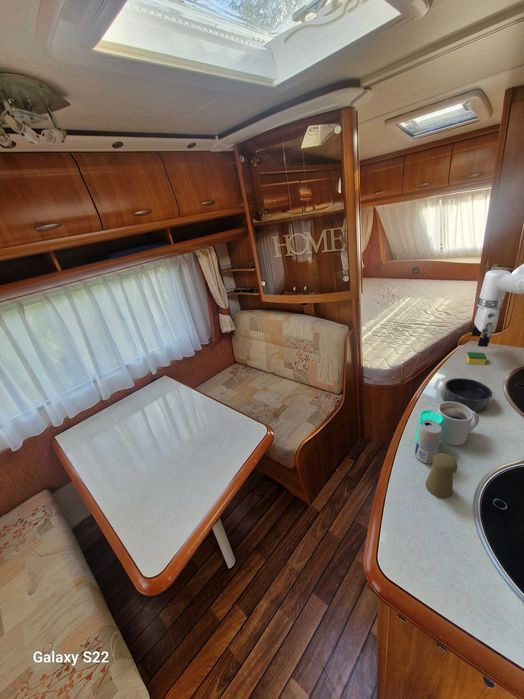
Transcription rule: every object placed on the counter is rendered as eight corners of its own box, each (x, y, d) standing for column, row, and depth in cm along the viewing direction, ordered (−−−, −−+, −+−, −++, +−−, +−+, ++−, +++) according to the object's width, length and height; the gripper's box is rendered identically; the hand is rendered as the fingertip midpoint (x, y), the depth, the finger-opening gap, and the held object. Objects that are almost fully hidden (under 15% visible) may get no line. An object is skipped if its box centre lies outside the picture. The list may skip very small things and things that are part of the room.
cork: (422, 476, 75) (428, 448, 70) (447, 478, 74) (454, 449, 69) (429, 497, 70) (436, 468, 65) (456, 499, 68) (465, 470, 63)
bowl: (481, 392, 102) (485, 380, 99) (494, 416, 91) (498, 403, 88) (439, 388, 107) (441, 376, 104) (446, 410, 96) (449, 398, 93)
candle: (411, 436, 88) (416, 407, 82) (429, 434, 88) (435, 404, 82) (422, 451, 82) (428, 421, 77) (441, 448, 82) (449, 418, 77)
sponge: (481, 359, 120) (483, 352, 118) (484, 364, 116) (486, 357, 115) (465, 358, 122) (467, 351, 120) (468, 363, 119) (469, 356, 117)
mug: (430, 438, 86) (435, 414, 81) (435, 420, 92) (440, 396, 88) (473, 452, 80) (481, 426, 75) (475, 431, 86) (482, 407, 82)
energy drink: (426, 447, 83) (432, 417, 78) (439, 461, 78) (447, 430, 73) (410, 451, 83) (415, 422, 77) (423, 466, 78) (429, 435, 72)
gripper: (510, 310, 99) (497, 351, 106) (494, 295, 113) (483, 332, 120) (485, 309, 101) (473, 350, 109) (472, 295, 115) (463, 332, 123)
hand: (478, 341), depth 115 cm, fingers open, 9 cm apart
